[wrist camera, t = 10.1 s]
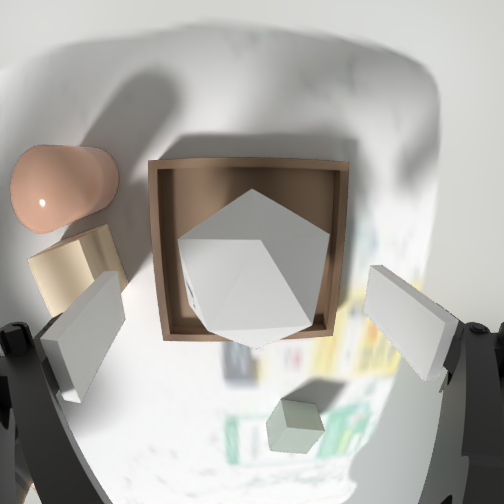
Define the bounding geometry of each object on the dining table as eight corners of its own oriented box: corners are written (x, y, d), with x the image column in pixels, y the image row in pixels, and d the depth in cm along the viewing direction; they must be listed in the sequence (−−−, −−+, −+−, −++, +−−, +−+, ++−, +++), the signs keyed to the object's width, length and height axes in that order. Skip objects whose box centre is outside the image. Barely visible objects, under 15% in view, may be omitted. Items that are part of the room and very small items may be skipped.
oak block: (81, 295, 22) (54, 323, 18) (60, 240, 21) (27, 259, 16) (129, 282, 22) (107, 311, 18) (108, 223, 21) (78, 239, 16)
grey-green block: (265, 422, 28) (269, 450, 24) (280, 398, 27) (286, 427, 23) (299, 426, 28) (306, 453, 25) (315, 403, 28) (325, 430, 24)
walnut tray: (168, 324, 23) (163, 340, 21) (156, 160, 20) (148, 160, 17) (324, 321, 24) (332, 335, 22) (336, 161, 21) (349, 162, 18)
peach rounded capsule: (66, 213, 20) (14, 235, 14) (63, 151, 19) (8, 152, 12) (120, 210, 21) (77, 231, 14) (118, 143, 19) (73, 138, 12)
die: (231, 165, 20) (125, 236, 13) (357, 194, 17) (305, 305, 10) (233, 259, 25) (158, 342, 18) (334, 293, 22) (282, 402, 15)
